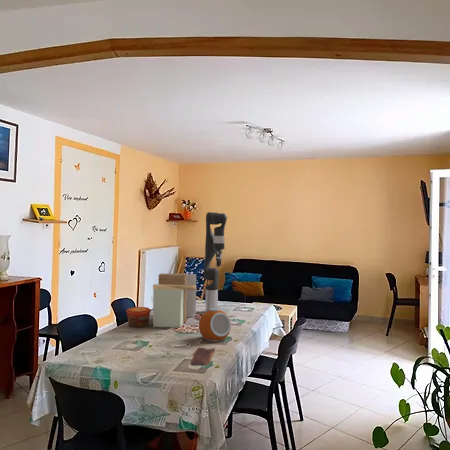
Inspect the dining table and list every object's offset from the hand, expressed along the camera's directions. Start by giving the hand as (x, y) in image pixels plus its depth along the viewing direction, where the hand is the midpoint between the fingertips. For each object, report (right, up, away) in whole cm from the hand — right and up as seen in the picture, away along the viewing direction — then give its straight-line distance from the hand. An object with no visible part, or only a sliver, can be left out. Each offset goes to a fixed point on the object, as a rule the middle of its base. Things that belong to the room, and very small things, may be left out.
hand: (218, 265), depth 293 cm
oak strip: (-29, -14, -14) cm, 35 cm away
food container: (-52, -38, -14) cm, 66 cm away
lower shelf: (-33, -38, -13) cm, 52 cm away
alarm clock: (-2, -39, -42) cm, 57 cm away
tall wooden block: (-32, -38, -1) cm, 49 cm away
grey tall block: (-24, -38, +14) cm, 47 cm away
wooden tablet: (-7, -40, -76) cm, 86 cm away
